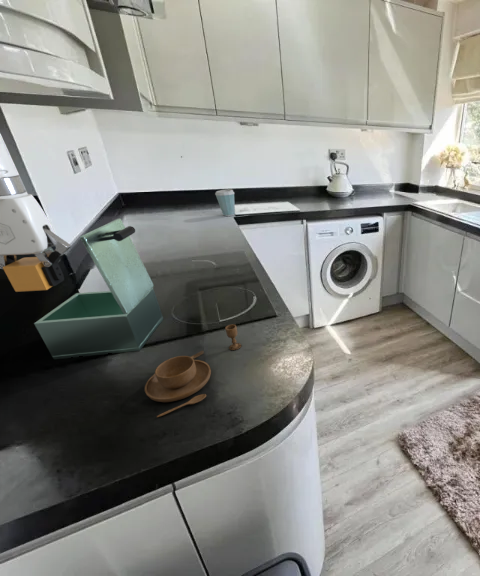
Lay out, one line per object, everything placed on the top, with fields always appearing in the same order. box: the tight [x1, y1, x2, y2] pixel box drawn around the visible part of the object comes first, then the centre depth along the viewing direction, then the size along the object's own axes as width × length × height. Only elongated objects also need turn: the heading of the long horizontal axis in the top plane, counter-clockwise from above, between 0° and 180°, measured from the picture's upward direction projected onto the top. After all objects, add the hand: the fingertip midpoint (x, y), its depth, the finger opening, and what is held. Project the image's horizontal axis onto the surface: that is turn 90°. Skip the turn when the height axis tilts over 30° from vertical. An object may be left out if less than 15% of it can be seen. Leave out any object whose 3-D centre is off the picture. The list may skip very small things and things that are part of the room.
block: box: [2, 256, 53, 293], centre depth 62 cm, size 5×5×5 cm
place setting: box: [144, 323, 242, 418], centre depth 69 cm, size 18×20×6 cm
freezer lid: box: [79, 218, 155, 314], centre depth 76 cm, size 19×15×5 cm
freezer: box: [33, 287, 164, 360], centre depth 81 cm, size 18×15×10 cm
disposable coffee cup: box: [214, 188, 236, 217], centre depth 197 cm, size 11×11×15 cm
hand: (40, 283), depth 63 cm, fingers closed on block, 5 cm apart
